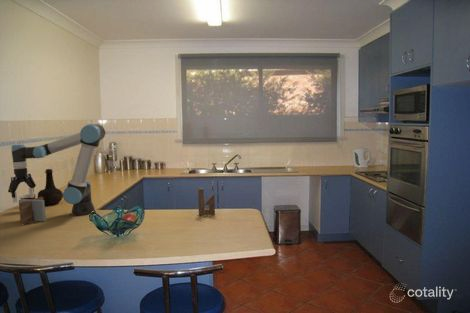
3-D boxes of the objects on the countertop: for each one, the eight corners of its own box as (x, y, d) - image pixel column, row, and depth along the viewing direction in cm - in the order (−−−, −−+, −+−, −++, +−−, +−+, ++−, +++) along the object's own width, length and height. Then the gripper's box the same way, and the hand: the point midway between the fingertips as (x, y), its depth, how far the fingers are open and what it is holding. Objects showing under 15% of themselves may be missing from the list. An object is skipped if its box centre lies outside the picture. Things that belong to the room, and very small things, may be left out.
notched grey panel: (45, 220, 234) (44, 200, 232) (43, 221, 232) (41, 200, 230) (23, 219, 238) (21, 199, 236) (20, 220, 236) (18, 200, 234)
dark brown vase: (39, 203, 286) (36, 168, 283) (63, 200, 293) (61, 166, 290) (37, 208, 270) (34, 171, 267) (63, 205, 277) (60, 169, 274)
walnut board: (44, 217, 243) (43, 197, 242) (23, 224, 226) (21, 203, 224) (42, 217, 243) (40, 196, 242) (21, 224, 226) (19, 203, 225)
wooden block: (215, 214, 238) (214, 188, 236) (198, 215, 237) (197, 189, 235) (214, 213, 242) (213, 187, 240) (198, 214, 240) (197, 188, 238)
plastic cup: (19, 211, 261) (18, 195, 260) (36, 208, 268) (34, 192, 266) (21, 214, 253) (20, 197, 251) (38, 211, 259) (37, 195, 258)
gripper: (30, 165, 245) (33, 195, 247) (-1, 171, 221) (2, 204, 223) (39, 165, 243) (42, 195, 246) (8, 171, 219) (12, 204, 222)
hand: (23, 199), depth 235 cm, fingers open, 13 cm apart
